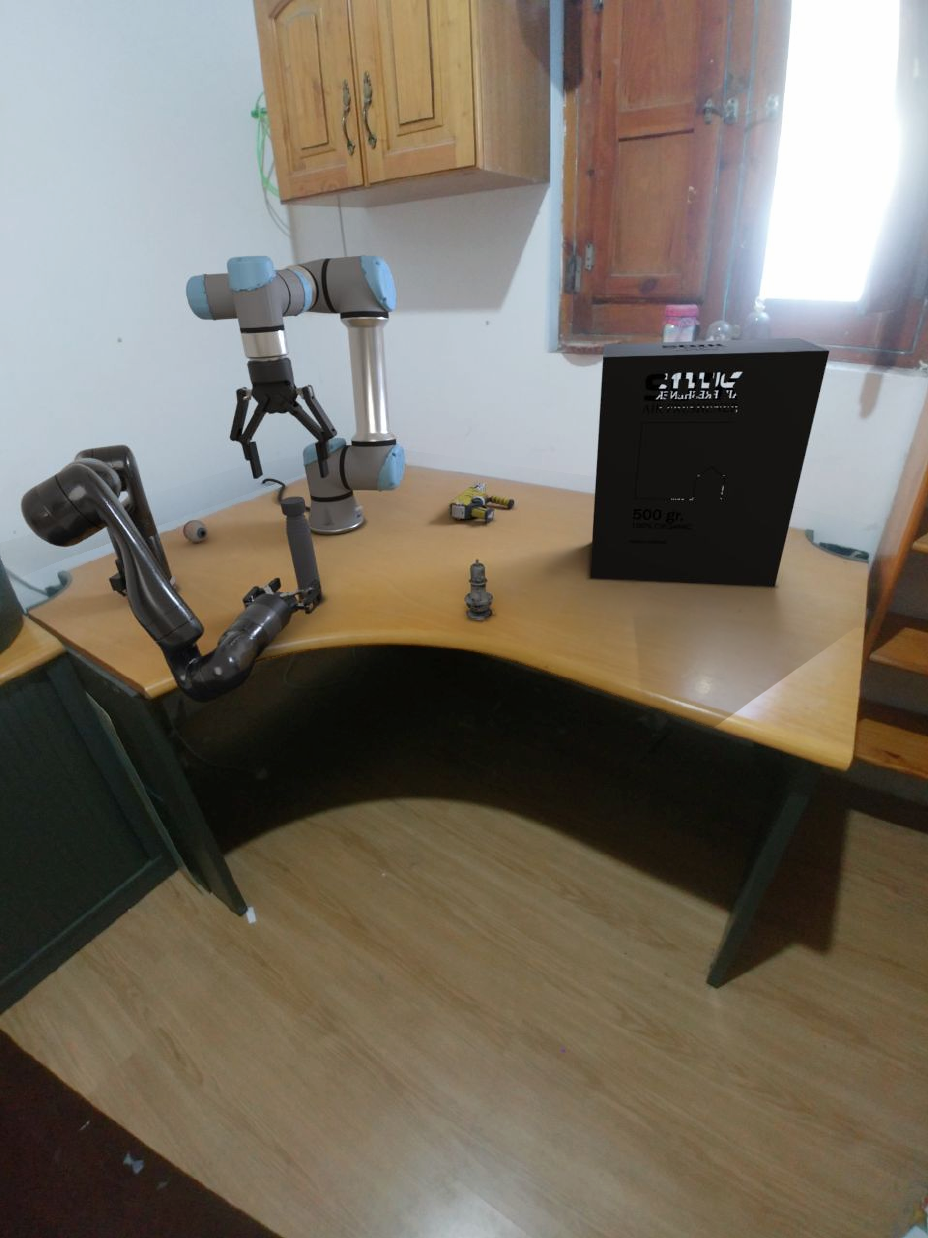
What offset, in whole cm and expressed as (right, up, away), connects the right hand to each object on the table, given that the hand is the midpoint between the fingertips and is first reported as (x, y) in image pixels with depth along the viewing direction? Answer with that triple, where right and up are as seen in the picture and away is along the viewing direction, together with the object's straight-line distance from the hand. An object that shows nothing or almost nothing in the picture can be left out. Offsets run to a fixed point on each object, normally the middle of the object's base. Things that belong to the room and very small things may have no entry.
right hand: (291, 476), depth 117 cm
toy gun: (+40, +4, +57) cm, 70 cm away
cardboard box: (+82, -15, +20) cm, 86 cm away
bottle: (+1, -24, +14) cm, 27 cm away
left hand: (0, -20, +6) cm, 21 cm away
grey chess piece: (+37, -27, +5) cm, 46 cm away
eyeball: (-39, -7, +47) cm, 61 cm away
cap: (0, -4, +2) cm, 5 cm away
